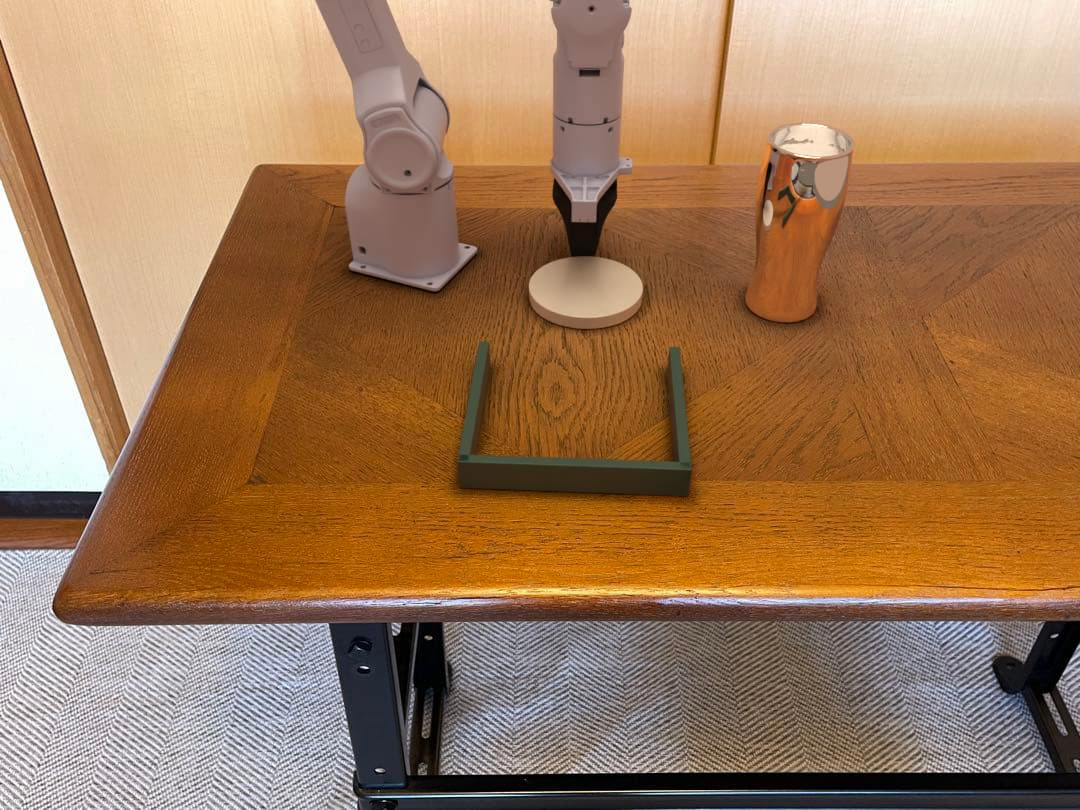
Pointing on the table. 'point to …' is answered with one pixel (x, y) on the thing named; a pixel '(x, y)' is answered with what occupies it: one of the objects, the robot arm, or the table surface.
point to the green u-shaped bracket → (575, 470)
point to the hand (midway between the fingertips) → (583, 255)
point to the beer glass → (797, 216)
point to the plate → (585, 292)
